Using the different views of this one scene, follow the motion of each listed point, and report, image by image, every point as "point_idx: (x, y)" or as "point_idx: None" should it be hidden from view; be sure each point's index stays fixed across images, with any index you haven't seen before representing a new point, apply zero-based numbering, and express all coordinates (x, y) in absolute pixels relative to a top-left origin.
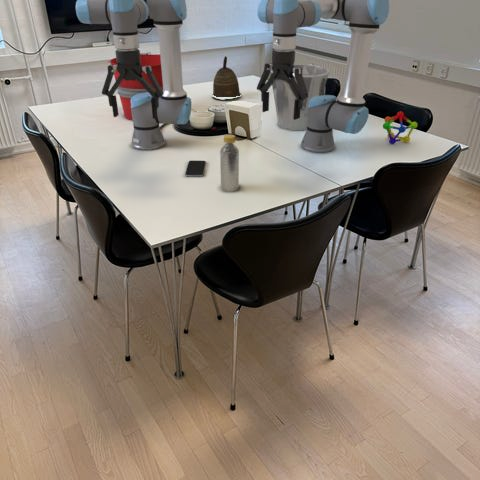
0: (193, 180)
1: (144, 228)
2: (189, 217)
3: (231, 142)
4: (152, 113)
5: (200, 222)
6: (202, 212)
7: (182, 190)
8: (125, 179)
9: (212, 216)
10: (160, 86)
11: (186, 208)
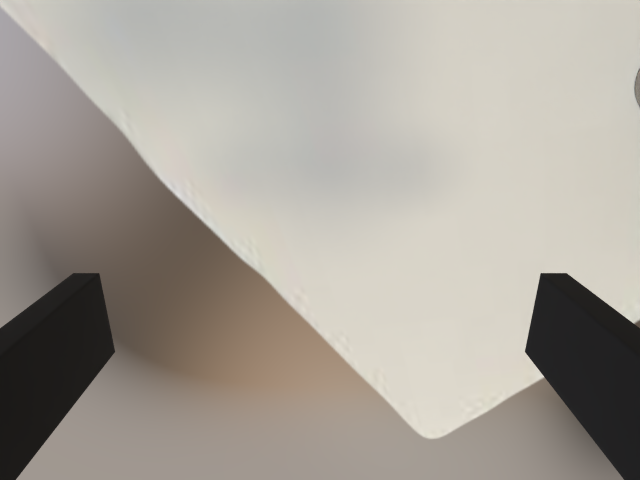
0: (510, 12)
1: (389, 387)
2: (512, 320)
3: None
4: (555, 387)
5: None
6: None
7: (470, 128)
8: (194, 46)
9: None
10: None
11: (498, 267)
